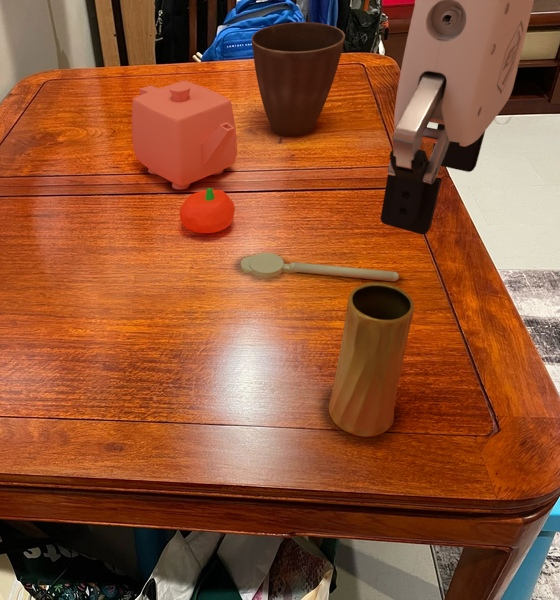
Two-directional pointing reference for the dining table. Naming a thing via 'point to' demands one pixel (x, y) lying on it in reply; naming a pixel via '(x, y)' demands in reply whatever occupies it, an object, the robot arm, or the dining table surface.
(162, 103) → the teapot
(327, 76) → the flower pot
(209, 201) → the pumpkin
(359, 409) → the vase
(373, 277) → the spoon
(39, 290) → the dining table surface
